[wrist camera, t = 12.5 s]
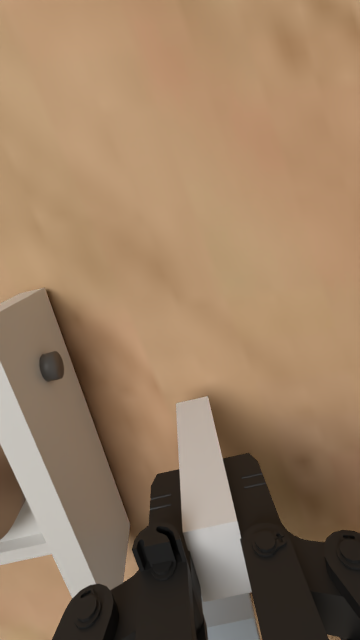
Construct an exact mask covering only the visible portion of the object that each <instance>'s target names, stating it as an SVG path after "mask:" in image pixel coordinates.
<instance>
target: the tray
mask: <svg viewBox="0 0 360 640" xmlns="http://www.w3.org/2000/svg"><path fill="white" fill-rule="evenodd" d="M0 444H1V447H2V449H3V451H4V453H5V455H6V457H7V459H8V462H9V464H10V466H11V468H12V470H13V472H14V474H15V477H16V479H17V481H18V483H19V485H20V487H21V489H22V491H23V494H24V496H25V498H26V500H25V502H24V504H23V506H22V508H21V510H20V512H19V514H18V516H17V518H16V520H15V522H14V524H13V526H12V527H11V528H10V530H9V531H8V533H7V534H6V535H5V536H4V537H3V538H2V539H1V540H0V565H3V564H8V563H12V562H17V561H22V560H26V559H31V558H36V557H40V556H45V555H50V554H52V556H53V558H54V560H55V562H56V564H57V566H58V568H59V571H60V573H61V575H62V577H63V579H64V581H65V583H66V586H67V588H68V590H69V592H70V594H71V596H72V598H73V597H74V596H75V595H76V594H77V593H78V592H79V591H80V590H82V589H84V588H86V587H87V586H89V585H93V584H102V585H105V586H107V587H108V588H109V590H111V589H113V588H115V587H117V586H118V585H120V584H122V583H123V579H124V571H125V563H126V555H127V547H128V538H129V530H130V523H129V520H128V517H127V514H126V511H125V509H124V506H123V503H122V500H121V498H120V495H119V492H118V489H117V487H116V484H115V481H114V478H113V475H112V473H111V470H110V467H109V464H108V462H107V459H106V456H105V453H104V451H103V448H102V445H101V442H100V439H99V437H98V434H97V431H96V428H95V426H94V423H93V420H92V417H91V414H90V412H89V409H88V406H87V403H86V401H85V398H84V395H83V392H82V390H81V387H80V384H79V381H78V378H77V376H76V373H75V370H74V367H73V365H72V362H71V359H70V356H69V354H68V351H67V348H66V345H65V342H64V340H63V337H62V334H61V331H60V329H59V326H58V323H57V320H56V317H55V315H54V312H53V309H52V306H51V304H50V301H49V298H48V295H47V293H46V290H45V287H44V288H40V289H36V290H32V291H28V292H24V293H20V294H18V295H16V296H14V297H12V298H10V299H8V300H6V301H4V302H2V303H0Z"/></svg>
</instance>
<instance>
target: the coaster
mask: <svg viewBox="0 0 360 640" xmlns="http://www.w3.org/2000/svg"><path fill="white" fill-rule="evenodd" d="M25 500H26V498H25V496H24V494H23V491H22V489H21V487H20V485H19V483H18V481H17V479H16V477H15V474H14V472H13V470H12V468H11V466H10V464H9V462H8V459H7V457H6V455H5V453H4V451H3V449H2V447H1V444H0V540H1V539H2V538H3V537H4V536H5V535H6V534H7V533H8V531H9V530H10V528H11V527H12V526H13V524H14V522H15V520H16V518H17V516H18V514H19V512H20V510H21V508H22V506H23V504H24V502H25Z"/></svg>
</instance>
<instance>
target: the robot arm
mask: <svg viewBox="0 0 360 640" xmlns="http://www.w3.org/2000/svg"><path fill="white" fill-rule="evenodd" d="M176 413H177V433H178V452H179V469H178V470H174V471H169V472H165V473H160V474H157V475H156V477H155V479H154V481H153V483H152V485H151V497H150V498H151V501H150V515H149V526H147V527H146V528H145V529H144V530H142V531H141V532H140V533H139V535H138V536H137V538H136V539H135V541H134V544H133V548H132V551H133V554H134V557H135V559H136V562H137V565H138V567H139V570H138V571H137V572H136V573H135V575H134V576H132V577H131V578H130V579H128V580H127V581H125V582H123V583H122V584H120V585H118V586H117V587H115V588H113V589H111V590H109V588H108V587H107V586H105V585H102V584H93V585H89V586H87V587H86V588H84V589H82V590H80V591H79V592H78V593H77V594H76V595H75V596H74V597H73V598H72V600H71V601H70V603H69V605H68V606H67V608H66V610H65V612H64V614H63V616H62V618H61V621H60V623H59V625H58V627H57V630H56V632H55V634H54V636H53V639H52V640H208V633H207V625H206V621H205V618H204V614H203V608H202V598H203V602H207V601H212V600H217V599H221V598H226V597H231V596H236V595H241V594H245V593H250V592H252V595H253V599H254V604H255V608H256V612H257V617H258V621H259V626H260V630H261V634H262V639H263V640H329V639H328V636H327V634H328V635H333V636H338V637H340V639H341V640H360V533H357V532H355V531H348V530H341V531H337V532H334V533H332V534H331V535H330V536H329V537H327V539H326V541H325V542H316V541H308V540H304V539H300V538H298V537H296V536H294V535H293V534H291V533H290V532H288V531H287V530H286V529H285V527H284V526H283V525H282V523H281V521H280V519H279V516H278V514H277V511H276V508H275V506H274V503H273V501H272V498H271V495H270V493H269V490H268V487H267V485H266V482H265V479H264V477H263V475H262V472H261V469H260V466H259V464H258V461H257V460H256V459H254V458H253V457H252V456H251V455H250V454H249V453H246V454H242V455H237V456H233V457H228V458H224V459H223V458H222V454H221V450H220V446H219V441H218V437H217V433H216V429H215V424H214V420H213V416H212V412H211V407H210V403H209V399H208V396H206V397H202V398H197V399H193V400H189V401H184V402H180V403H176ZM201 595H202V597H201Z"/></svg>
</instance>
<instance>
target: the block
mask: <svg viewBox="0 0 360 640" xmlns="http://www.w3.org/2000/svg"><path fill="white" fill-rule="evenodd" d="M201 597H202V595H201ZM202 608H203V614H204V618H205V621H206V625H207V633H208V640H260V637H259V633H258V628H257V624H256V619H255V615H254V610H253V606H252V601H251V597H250V593H245V594H241V595H236V596H231V597H226V598H221V599H217V600H212V601H207V602H203V598H202Z"/></svg>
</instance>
